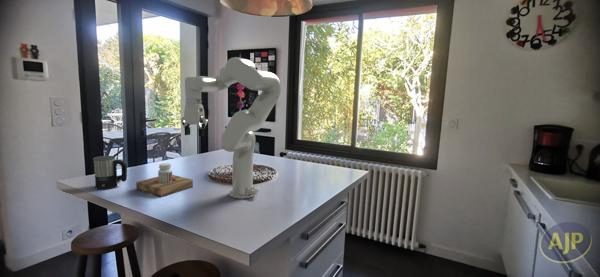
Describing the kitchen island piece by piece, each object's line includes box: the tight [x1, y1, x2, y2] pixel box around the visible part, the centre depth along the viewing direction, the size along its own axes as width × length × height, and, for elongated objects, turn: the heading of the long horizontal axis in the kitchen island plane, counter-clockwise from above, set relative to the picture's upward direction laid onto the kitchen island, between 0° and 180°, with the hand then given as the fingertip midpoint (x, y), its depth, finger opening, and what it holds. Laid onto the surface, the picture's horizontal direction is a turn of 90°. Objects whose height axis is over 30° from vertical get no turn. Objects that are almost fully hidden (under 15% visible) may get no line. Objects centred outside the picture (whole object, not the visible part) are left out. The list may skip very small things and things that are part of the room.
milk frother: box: [92, 155, 128, 190], centre depth 146 cm, size 14×16×15 cm
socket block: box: [135, 174, 194, 198], centre depth 144 cm, size 18×18×4 cm
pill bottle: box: [157, 162, 173, 184], centre depth 143 cm, size 6×6×11 cm
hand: (194, 135), depth 150 cm, fingers open, 9 cm apart
